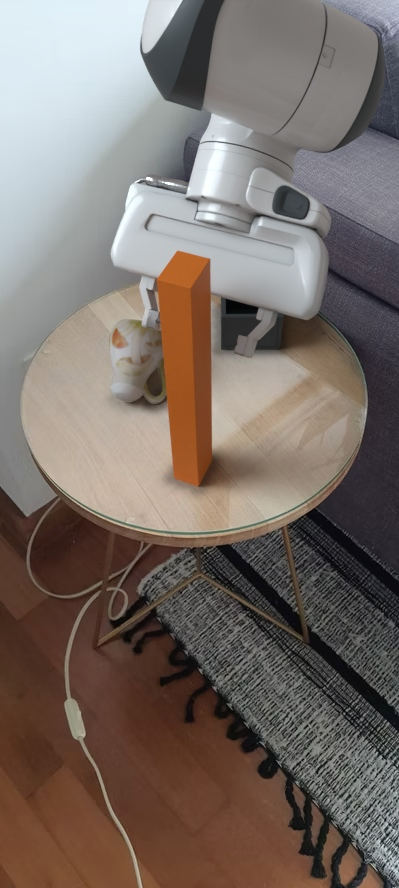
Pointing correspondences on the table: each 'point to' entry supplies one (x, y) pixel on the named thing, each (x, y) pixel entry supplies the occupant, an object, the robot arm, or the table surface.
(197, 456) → the block
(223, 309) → the bin
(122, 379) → the mug
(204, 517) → the table surface
